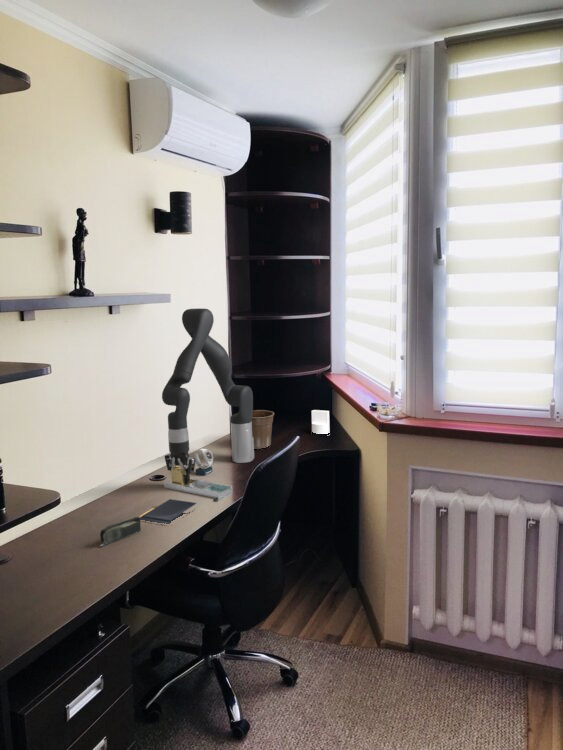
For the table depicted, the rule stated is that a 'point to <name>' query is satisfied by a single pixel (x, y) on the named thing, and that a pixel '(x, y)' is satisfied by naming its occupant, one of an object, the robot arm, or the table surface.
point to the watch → (207, 457)
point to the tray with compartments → (203, 488)
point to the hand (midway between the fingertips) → (181, 482)
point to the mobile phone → (120, 530)
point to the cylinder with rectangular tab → (320, 422)
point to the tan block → (178, 476)
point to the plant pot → (262, 428)
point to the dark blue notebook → (167, 511)
